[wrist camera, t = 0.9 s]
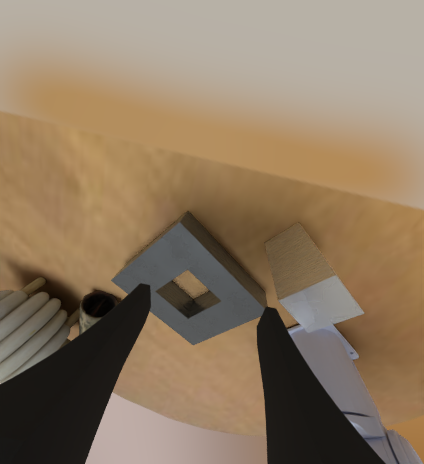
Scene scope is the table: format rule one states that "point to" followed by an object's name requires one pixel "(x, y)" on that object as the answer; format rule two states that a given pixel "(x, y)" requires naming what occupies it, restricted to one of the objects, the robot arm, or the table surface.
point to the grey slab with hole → (204, 269)
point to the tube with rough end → (95, 308)
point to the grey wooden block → (308, 281)
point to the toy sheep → (30, 328)
